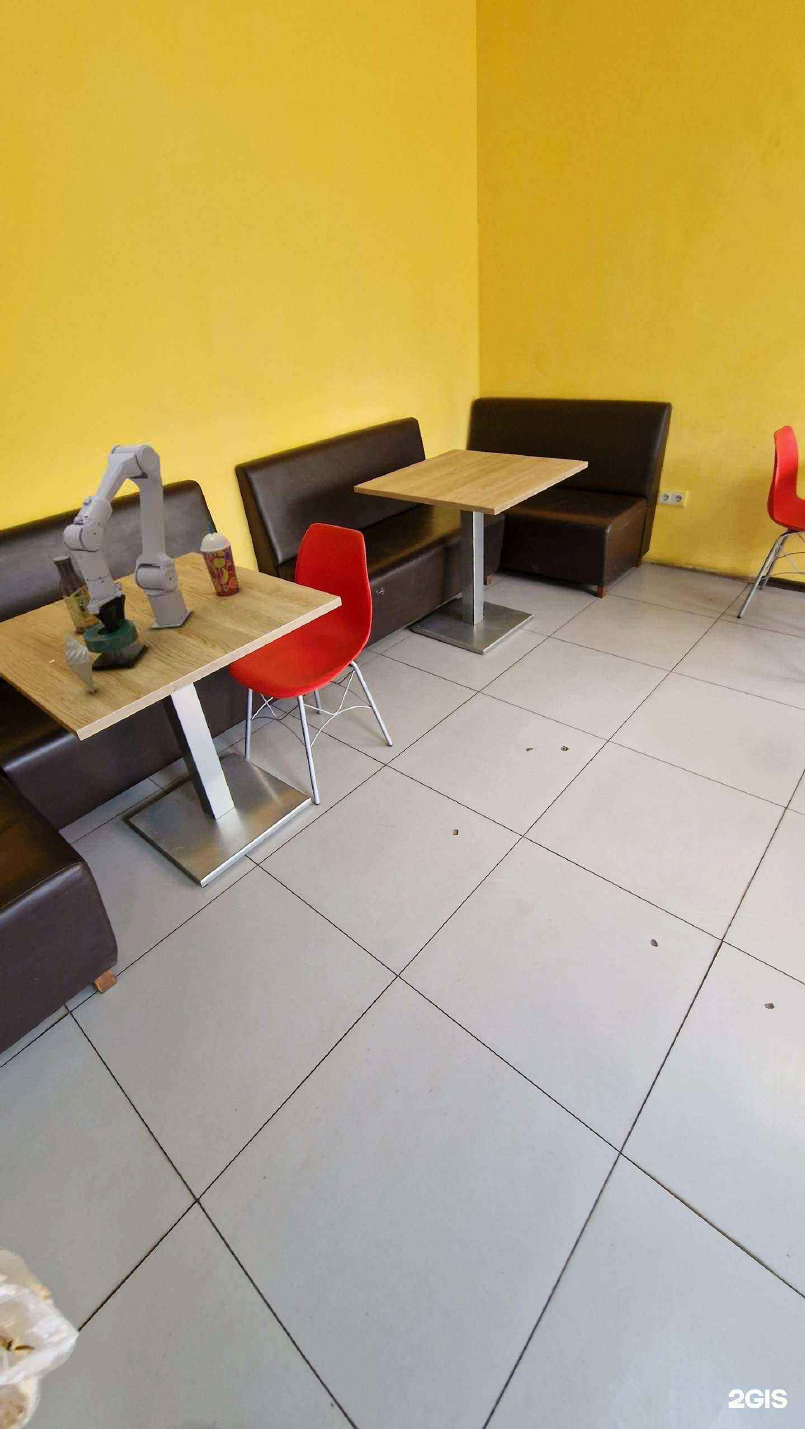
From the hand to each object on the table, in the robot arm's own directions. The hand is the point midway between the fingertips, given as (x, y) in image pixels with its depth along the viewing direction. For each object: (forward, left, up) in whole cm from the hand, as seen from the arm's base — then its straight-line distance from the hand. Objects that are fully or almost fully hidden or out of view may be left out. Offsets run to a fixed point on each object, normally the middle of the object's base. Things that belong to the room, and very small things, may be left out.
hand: (118, 628), depth 154 cm
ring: (+4, 0, -1) cm, 4 cm away
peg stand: (+4, 0, -6) cm, 7 cm away
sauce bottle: (-16, -17, -6) cm, 24 cm away
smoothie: (-34, +17, -6) cm, 38 cm away
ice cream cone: (+19, 0, -6) cm, 20 cm away
